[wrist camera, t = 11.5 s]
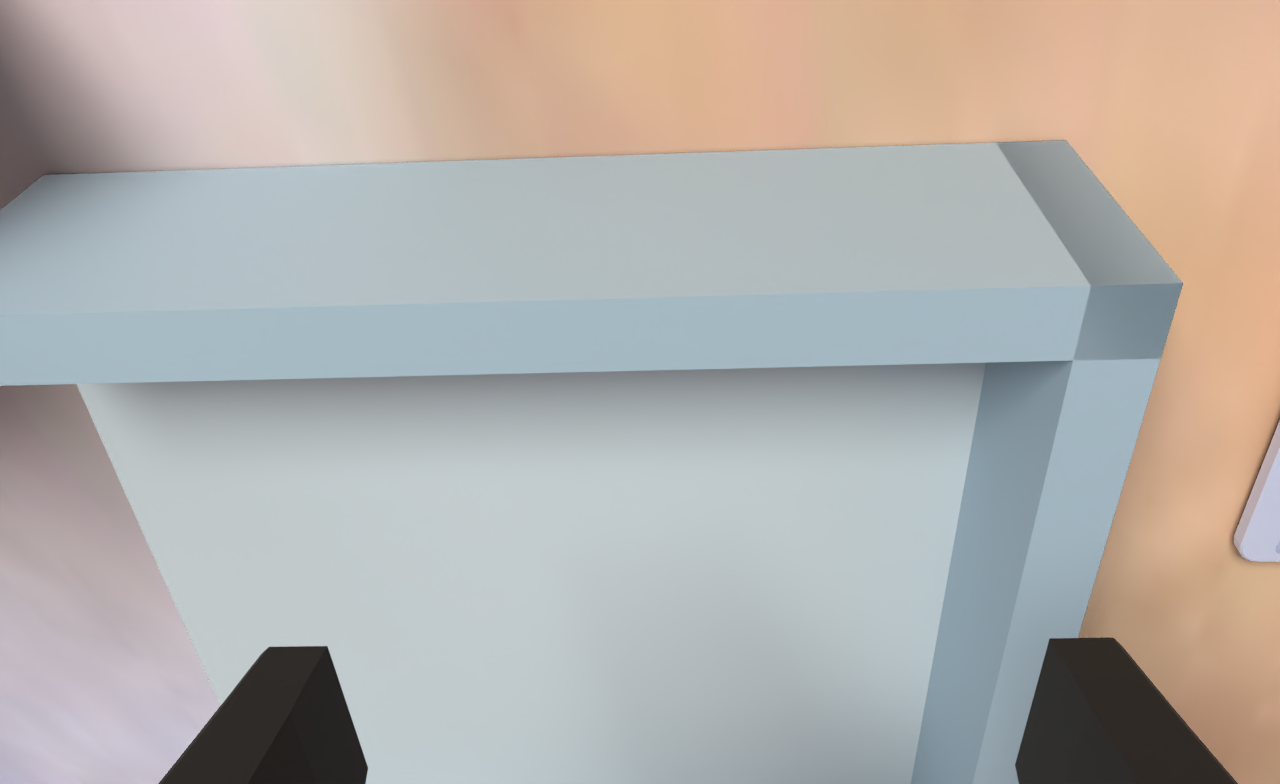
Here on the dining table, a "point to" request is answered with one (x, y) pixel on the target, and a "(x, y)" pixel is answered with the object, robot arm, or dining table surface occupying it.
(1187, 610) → the dining table surface
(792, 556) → the bay
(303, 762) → the robot arm
